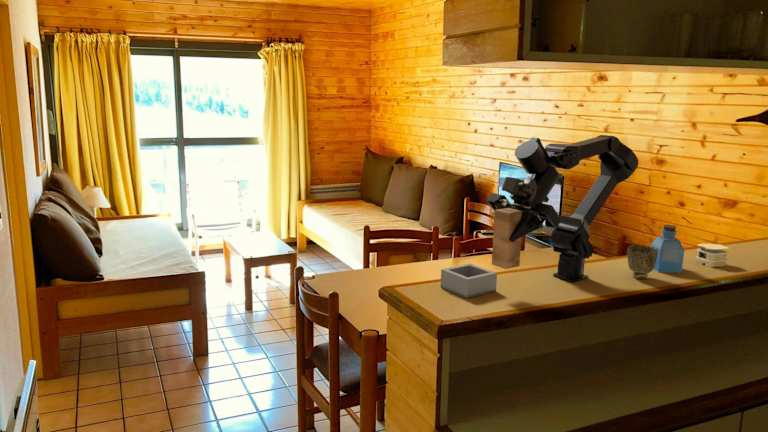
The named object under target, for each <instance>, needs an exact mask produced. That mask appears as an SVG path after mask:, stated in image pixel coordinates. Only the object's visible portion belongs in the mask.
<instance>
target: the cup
mask: <svg viewBox="0 0 768 432" xmlns="http://www.w3.org/2000/svg"><path fill="white" fill-rule="evenodd" d="M626 250H627V265H628V267H629V269H630V270H631V272H632V276H633V278H635V279H637V280H638V279H639V280H646V279H648V276H649V274H650V273H651V272H652V271H654V270H655V269H654V267H655V264H656V260H657V255H658V252H659V250H658V249H657V248H656V249H654V247H652V248H651V246H649V245H647V246H646V245H643V246H641V244H638V245H635V244H632V245H628V247H627V249H626Z"/></svg>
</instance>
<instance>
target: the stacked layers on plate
mask: <svg viewBox="0 0 768 432" xmlns="http://www.w3.org/2000/svg"><path fill="white" fill-rule="evenodd" d="M697 246H699V247H698V248H697V249H696V251H697V252H698V253H697V255H696V256H695V257H696V258H697V259H699V260H703V261H705V262H704V263H705V264H704V266H705V267H709V268H715V267H726V263H727V262H728V261H729V259H728V258H727V257H728V256H727V255H728V254H729V253H730V252H728V251H727V250H725V249H729V247H728V246H725V245H723V244H717V243H716V244H715V243H698V244H697Z"/></svg>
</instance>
